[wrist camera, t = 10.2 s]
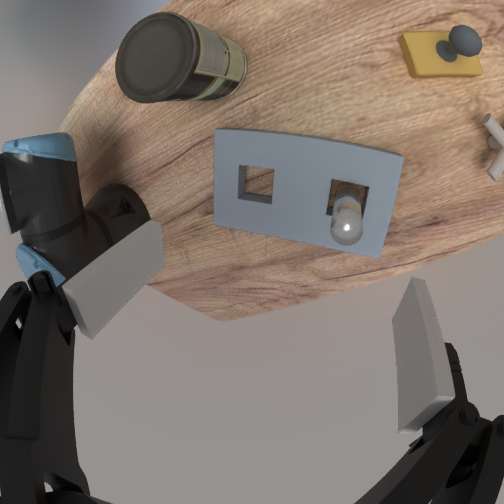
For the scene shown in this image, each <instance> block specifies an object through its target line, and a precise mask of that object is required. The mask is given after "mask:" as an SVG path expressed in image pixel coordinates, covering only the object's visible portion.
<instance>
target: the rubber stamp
mask: <svg viewBox="0 0 504 504" xmlns="http://www.w3.org/2000/svg"><path fill="white" fill-rule="evenodd" d="M398 42H399V44H400V47H401V49H402V52H403V55H404V58H405V61H406V63H407V66H408V70H409V73H410V76H411V77H413V78H425V77H475V76H480V75H482V74H483V70H482V66H481V63H480V60H479V57H478V54H479V53H480V51H481V49H482V42H481V38H480V37H479V35H478V33H477V32H476V31H474V30H473V29H472V28H471V27H468V26H465V25H459V26H455V27H453V28H452V30H451V31H405V32H404V33H403V34H402V35H401V37H400V38H399V40H398Z"/></svg>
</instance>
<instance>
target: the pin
mask: <svg viewBox="0 0 504 504" xmlns="http://www.w3.org/2000/svg"><path fill="white" fill-rule="evenodd" d="M330 233H331V236H332V238H333V239H334V240H335V241H336V242H337V243H339V244H341V245H345V246H350V245H353V244H355V243H357V242H358V241H359V240H360V239H361V237H362V235H363V224H362V214H361V205H360V198H359V192H358V189H357V188H356V187H355V186H354V185H352V184H349V183H345V184H342V185H340V186H339V187H338V188H337V191H336V196H335V202H334V208H333V215H332V220H331V226H330Z"/></svg>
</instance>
